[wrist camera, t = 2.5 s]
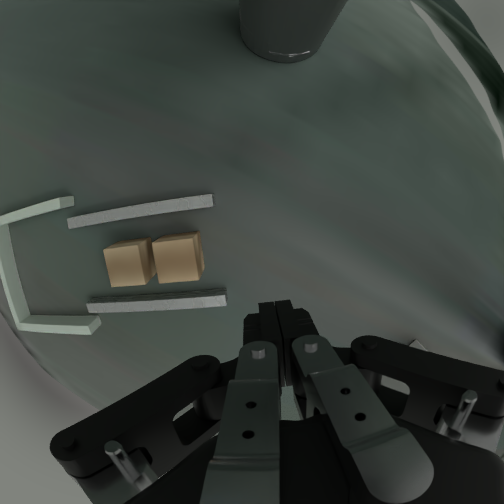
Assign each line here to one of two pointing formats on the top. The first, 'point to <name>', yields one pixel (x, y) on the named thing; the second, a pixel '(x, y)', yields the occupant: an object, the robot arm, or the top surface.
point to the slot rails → (152, 300)
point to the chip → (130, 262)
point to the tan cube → (178, 257)
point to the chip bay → (5, 266)
